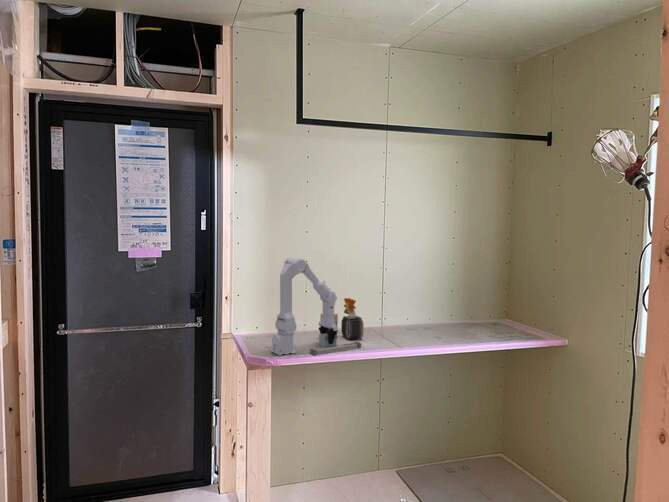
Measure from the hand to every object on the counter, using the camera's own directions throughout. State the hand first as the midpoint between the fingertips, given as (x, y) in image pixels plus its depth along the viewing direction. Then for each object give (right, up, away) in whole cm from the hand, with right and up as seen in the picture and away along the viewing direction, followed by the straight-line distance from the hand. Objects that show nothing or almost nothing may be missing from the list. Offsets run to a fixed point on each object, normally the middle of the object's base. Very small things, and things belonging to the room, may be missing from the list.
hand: (327, 342), depth 234 cm
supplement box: (0, -1, +16) cm, 16 cm away
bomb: (+12, -1, +18) cm, 22 cm away
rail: (+4, -2, -10) cm, 11 cm away
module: (0, -1, 0) cm, 1 cm away
